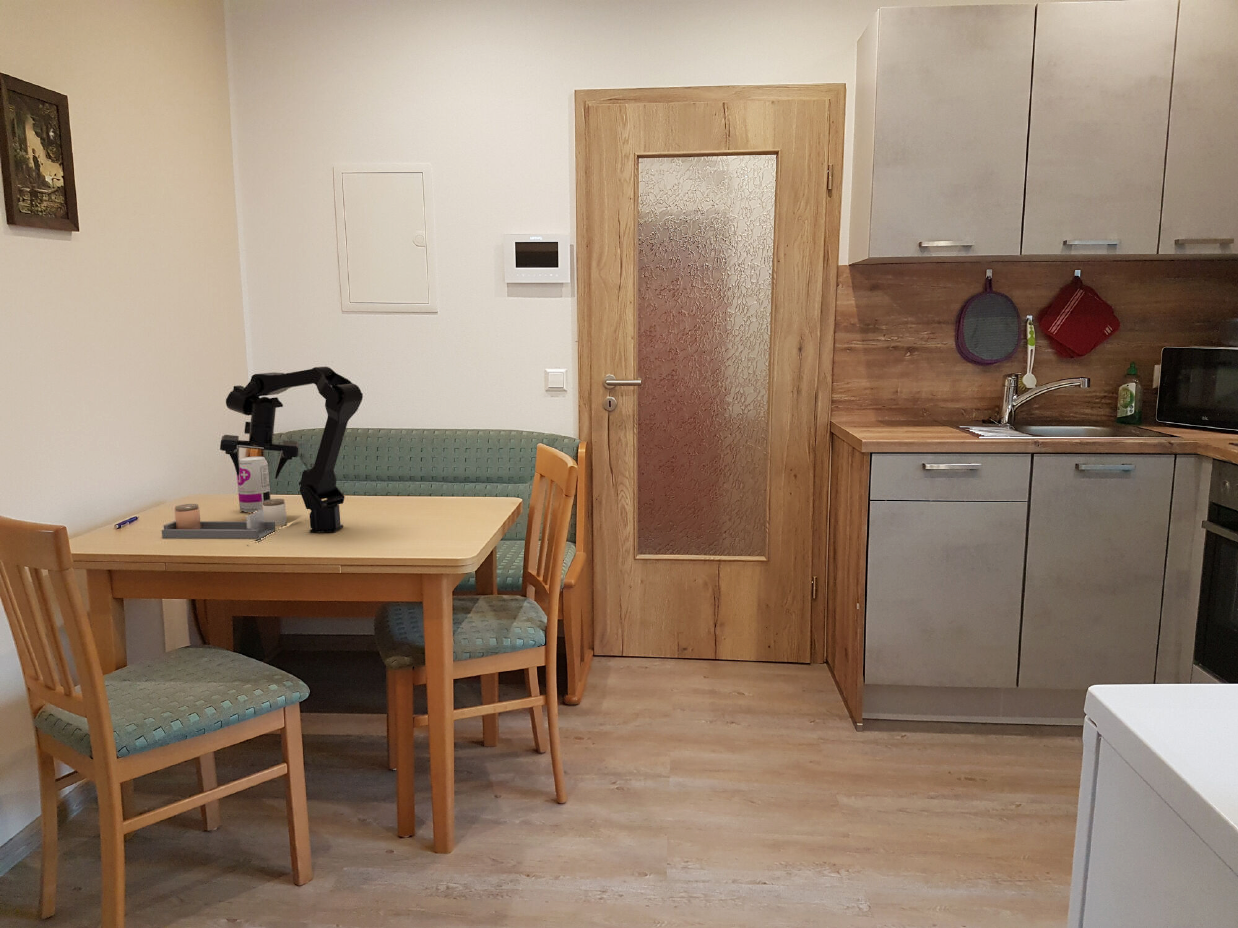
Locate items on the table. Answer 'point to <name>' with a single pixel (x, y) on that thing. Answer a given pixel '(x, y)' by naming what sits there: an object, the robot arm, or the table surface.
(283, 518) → the cream jar
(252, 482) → the supplement can
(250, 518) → the plate
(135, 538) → the table surface
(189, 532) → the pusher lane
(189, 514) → the front jar
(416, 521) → the table surface
